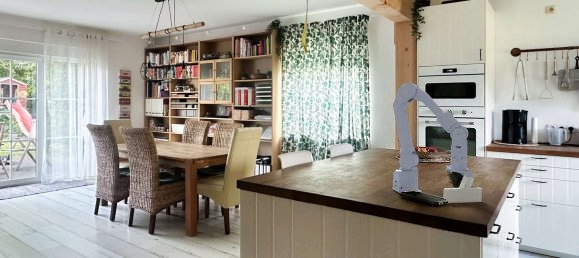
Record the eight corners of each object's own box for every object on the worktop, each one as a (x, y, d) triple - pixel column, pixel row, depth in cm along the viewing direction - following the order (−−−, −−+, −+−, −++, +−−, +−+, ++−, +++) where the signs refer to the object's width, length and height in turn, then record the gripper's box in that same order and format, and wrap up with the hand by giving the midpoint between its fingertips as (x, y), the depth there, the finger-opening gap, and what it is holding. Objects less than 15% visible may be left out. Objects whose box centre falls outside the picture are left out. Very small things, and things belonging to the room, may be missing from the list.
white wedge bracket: (452, 190, 139) (465, 171, 140) (458, 198, 147) (471, 180, 147) (461, 195, 137) (474, 176, 137) (467, 203, 144) (480, 185, 144)
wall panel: (445, 202, 136) (445, 189, 136) (442, 201, 138) (443, 188, 137) (481, 201, 138) (481, 188, 137) (478, 200, 139) (478, 187, 139)
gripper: (480, 159, 138) (479, 196, 139) (458, 154, 153) (456, 187, 153) (462, 160, 137) (461, 196, 138) (441, 155, 152) (440, 188, 153)
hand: (457, 192), depth 146 cm, fingers closed
